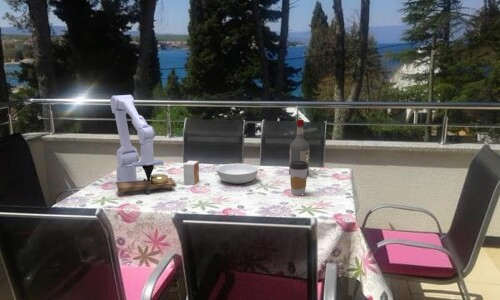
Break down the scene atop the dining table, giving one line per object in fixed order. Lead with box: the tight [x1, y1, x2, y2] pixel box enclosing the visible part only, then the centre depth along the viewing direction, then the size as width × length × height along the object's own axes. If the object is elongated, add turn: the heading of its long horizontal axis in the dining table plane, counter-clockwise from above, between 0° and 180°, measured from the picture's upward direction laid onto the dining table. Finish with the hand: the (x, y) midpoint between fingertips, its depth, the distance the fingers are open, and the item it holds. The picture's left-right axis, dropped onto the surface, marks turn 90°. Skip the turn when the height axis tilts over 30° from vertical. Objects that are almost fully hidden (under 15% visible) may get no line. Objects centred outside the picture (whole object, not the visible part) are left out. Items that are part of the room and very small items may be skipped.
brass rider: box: [150, 173, 169, 184], centre depth 206 cm, size 8×8×3 cm
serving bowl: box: [216, 162, 259, 185], centre depth 220 cm, size 21×21×7 cm
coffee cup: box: [289, 161, 308, 196], centre depth 199 cm, size 8×8×15 cm
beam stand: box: [143, 178, 151, 196], centre depth 204 cm, size 2×12×4 cm, turn 20°
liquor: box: [288, 119, 310, 175], centre depth 229 cm, size 9×9×30 cm
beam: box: [116, 177, 176, 192], centre depth 204 cm, size 26×10×2 cm, turn 110°
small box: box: [183, 160, 200, 186], centre depth 217 cm, size 8×6×10 cm
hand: (148, 180), depth 204 cm, fingers closed
